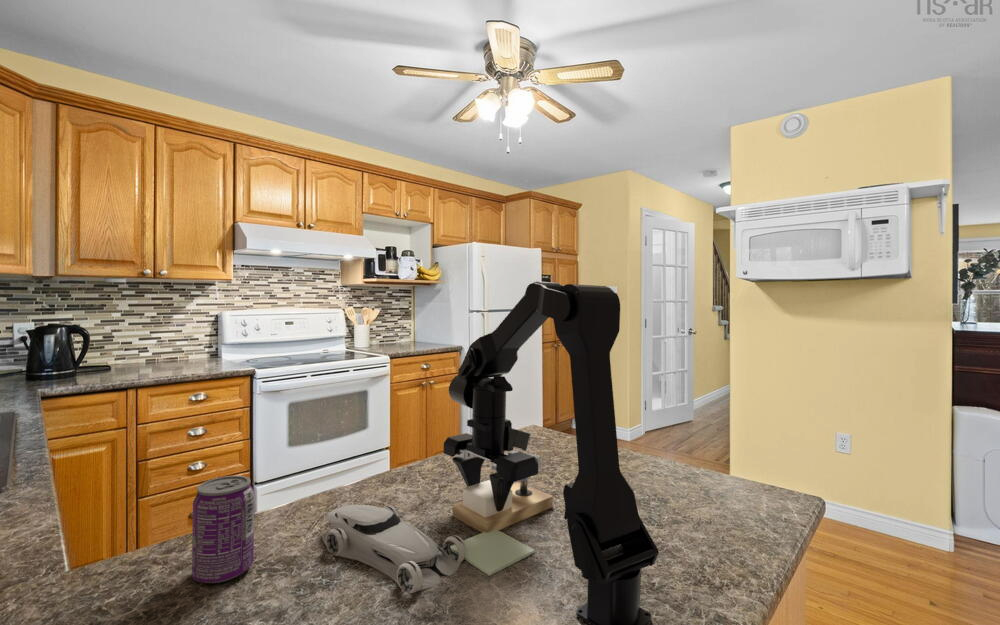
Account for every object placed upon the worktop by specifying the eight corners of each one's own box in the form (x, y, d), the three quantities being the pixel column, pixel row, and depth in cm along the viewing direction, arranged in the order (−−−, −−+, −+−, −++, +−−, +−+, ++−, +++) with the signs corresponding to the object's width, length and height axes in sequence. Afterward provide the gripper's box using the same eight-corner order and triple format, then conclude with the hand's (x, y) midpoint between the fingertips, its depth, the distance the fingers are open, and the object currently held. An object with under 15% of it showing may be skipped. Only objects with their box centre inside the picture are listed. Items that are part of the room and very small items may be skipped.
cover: (485, 517, 75) (485, 499, 75) (462, 505, 80) (463, 488, 80) (511, 507, 79) (512, 490, 79) (488, 496, 84) (489, 479, 84)
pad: (489, 575, 62) (489, 572, 62) (449, 549, 69) (449, 546, 69) (534, 552, 69) (534, 550, 69) (493, 530, 75) (493, 527, 75)
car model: (415, 603, 57) (416, 562, 57) (305, 541, 71) (306, 509, 71) (472, 563, 66) (473, 529, 66) (364, 515, 80) (365, 487, 80)
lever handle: (490, 485, 88) (491, 449, 88) (494, 483, 89) (495, 447, 89) (536, 496, 83) (537, 458, 83) (540, 493, 85) (541, 455, 85)
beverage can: (240, 552, 67) (241, 470, 67) (262, 571, 63) (263, 483, 62) (183, 573, 62) (184, 484, 61) (203, 595, 57) (204, 499, 57)
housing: (486, 535, 73) (486, 522, 73) (452, 515, 80) (452, 503, 80) (552, 507, 84) (552, 495, 84) (517, 491, 91) (517, 481, 91)
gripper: (561, 417, 78) (559, 509, 78) (488, 399, 92) (486, 477, 92) (514, 428, 70) (512, 530, 70) (442, 407, 84) (440, 492, 84)
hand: (487, 504), depth 79 cm, fingers closed on cover, 6 cm apart
